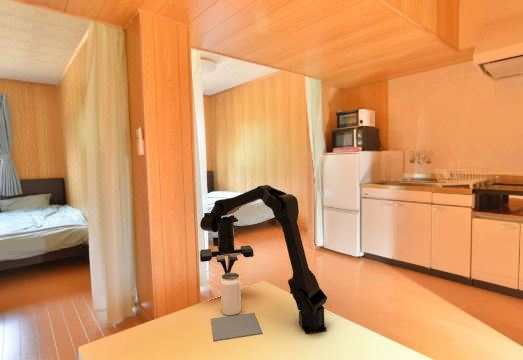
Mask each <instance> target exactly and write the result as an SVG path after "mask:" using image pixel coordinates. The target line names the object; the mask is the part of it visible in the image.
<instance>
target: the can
mask: <svg viewBox="0 0 523 360" xmlns="http://www.w3.org/2000/svg"><path fill="white" fill-rule="evenodd" d="M241 286H242V285H241V278H240V274H239V273H236V272H230V273H226V274H225V273H224V274H222V275H221V279H220V297H221V298H220V299H221V301H220V302H221V313H222V314H223V315H225V316H233V315H239V314H240V313H241V311H242V290H241V289H242V287H241Z"/></svg>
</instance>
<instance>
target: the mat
mask: <svg viewBox="0 0 523 360" xmlns="http://www.w3.org/2000/svg"><path fill="white" fill-rule="evenodd" d="M210 322H211V324H210V326H211V332H212V340H213V342H217V341H224V340H225V341H226V340H231V339H238V338H239V339H240V338H244V337H251V336H257V335H263V334H264V333H263V331H262V328H261V325H260V322H259V320H258V318H257V315H256V313H255V312H250V313H241V314H240V313H239V314H237V315H233V316H228V315H225V316H219V317H213V318H212V317H211V318H210Z"/></svg>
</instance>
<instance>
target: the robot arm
mask: <svg viewBox="0 0 523 360" xmlns="http://www.w3.org/2000/svg"><path fill="white" fill-rule="evenodd" d="M260 200H261V201H262V203H263V204H264V205H265V206H266V207H267V208H269V209H271V211H272V214H273V216H274V218H275V220H276V221H277V222H278V223H279V224H280V226H281V229H282V233H283V237H284V241H285V244H286V250H287V254H288V258H289V261H290V265H291V271H292V277H290V278H289V279H288V280H287V284H288V287H289V290H290V291H289V294H290V295H292V297H293V300H294V301H295V304H296V308H297V310H298V325H299V326H300V328H301V329H302V330H303V332H304V333H305V334H306V335H311V334H316V333H321V332H327V330H328V329H327V327H326V326H325V307H324V306H323V305H325V304H326V303H327V300H328V296H327V295H326V294H325V293H324V291H323V290H322V288H320V285H319V283H318V280H317V277H316V275H315V274H314V273H313V271H311V269H310V267H309V264H308V259H307V256H306V252H305V248H304V245H303V241H302V236H301V235H302V234H301V232H300V228H299V225H298V219H299V213H300V212H299V209H300V208H299V201H298V198H297V197H296V196H295V195H293V194H291V193H287V192H284V191H283V190H279V189H277V188H275V187H272V186H271V185H269V184H264V185H258V186H257V187H255V188H253V189H250V190H248V191H245V192H244V193H241V194H238V195H236V196H233V197H229V198H223V199H216V201H214V202H213V203H214V205H213V206H212V207H213V208H212V209H211V211H209V212H204V213H203V217H202V218H201V219H200V222H199V226H200V228H201V230H202V231H206V232H210V233H217V237H212V246H213V247H217V250H216V251H214V250H213V251H212V248H205V249H204V248H203V249H200V251H199V260H200V262H202V263H203V262H204V263H205V262H210V261H211V260H212V259H213V258H215V259H216V262H217V263H220V265H221V266H222V268H223V272H224V274H226V273H232V272H231V271H232V269H233V266H234V264H235V262H237V261H239V259H238V256H239V255H242V257H244V258H246V259H247V258H253V257H254V256H255V255H254V254H255V252H254V248H252V246H251V245H241V246H240V247H239V248H237V249H235V227H234V226H235V225H234V224H235V223H238V222H239V219H238V218H237V217H235V215H234V213H236V212H237V211H239V210H240V208H242V207H244V206H246V205H249V204H252V203H254V202H257V201H260ZM225 257H227V260H226V258H225ZM226 261H227V262H226Z"/></svg>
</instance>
